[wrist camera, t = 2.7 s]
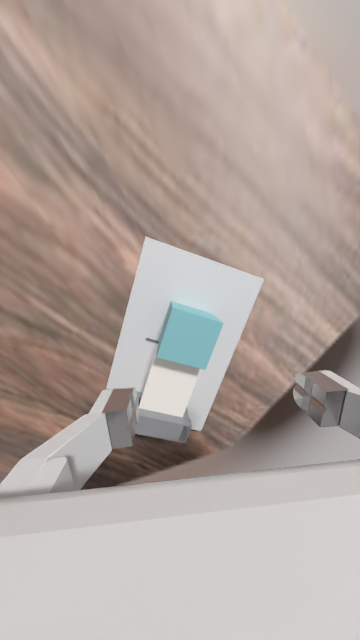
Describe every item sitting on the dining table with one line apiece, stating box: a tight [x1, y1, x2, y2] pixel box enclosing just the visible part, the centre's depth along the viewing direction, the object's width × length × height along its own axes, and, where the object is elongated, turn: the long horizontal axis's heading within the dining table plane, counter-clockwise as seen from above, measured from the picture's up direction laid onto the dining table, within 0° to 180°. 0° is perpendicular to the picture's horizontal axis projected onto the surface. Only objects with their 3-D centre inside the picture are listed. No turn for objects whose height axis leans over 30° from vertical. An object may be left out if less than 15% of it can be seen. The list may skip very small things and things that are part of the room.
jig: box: [106, 237, 264, 443], centre depth 20 cm, size 22×14×5 cm, turn 162°
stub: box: [157, 301, 224, 370], centre depth 18 cm, size 5×5×4 cm
